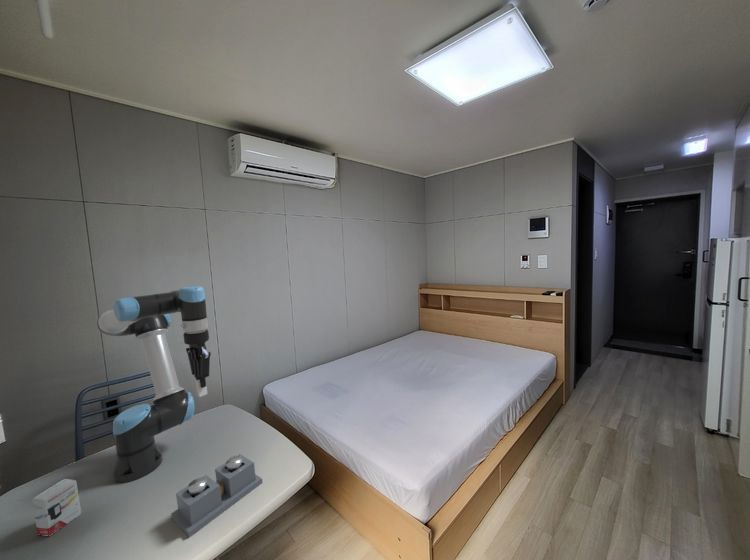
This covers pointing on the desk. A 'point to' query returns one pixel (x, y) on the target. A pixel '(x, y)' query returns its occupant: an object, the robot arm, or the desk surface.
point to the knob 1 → (197, 486)
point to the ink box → (56, 506)
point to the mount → (214, 496)
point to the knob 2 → (234, 463)
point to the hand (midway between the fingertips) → (202, 395)
